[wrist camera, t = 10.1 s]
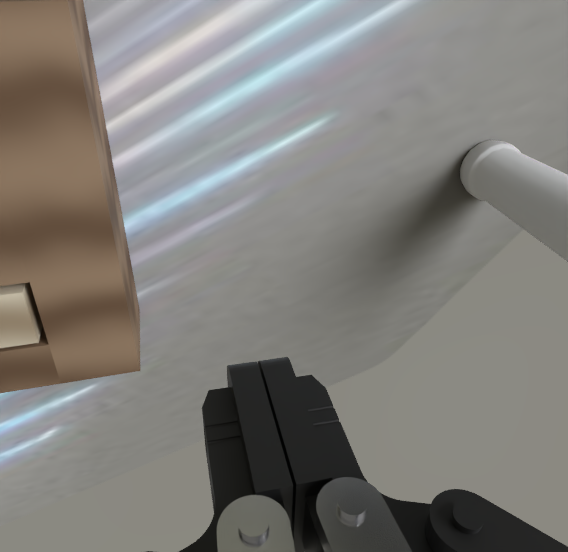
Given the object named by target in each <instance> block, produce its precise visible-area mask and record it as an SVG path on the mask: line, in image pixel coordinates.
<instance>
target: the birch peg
mask: <svg viewBox="0 0 568 552" xmlns="http://www.w3.org/2000/svg"><path fill="white" fill-rule="evenodd" d="M42 327H43V324H42V321H41V318H40V314H39V311H38V308H37V305H36V301H35V298H34V295H33V292H32V288H31V285H30V282H28V283H20V284H12V285H4V286H0V348H6V347H13V346H20V345H26V344H33V343H39V339H40V335H41V331H42Z"/></svg>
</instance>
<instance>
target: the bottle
mask: <svg viewBox="0 0 568 552" xmlns="http://www.w3.org/2000/svg"><path fill="white" fill-rule="evenodd" d="M460 179H461V181H462V183H463V185H464V187H465V189H466V190H467V192H469V193H470V194H471V195H472V196H474V197H475V198H477V199H479V200H480V201H486V202H488V203H489V204H490V205H492V206H493V207H494V208H496V209H497V210H499V211H500V212H501V213H503V214H504V215H505V216H507V217H508V218H509V219H511V220H512V221H513V222H515V223H516V224H517V225H519V226H520V227H522V228H523V229H524V230H526V231H527V232H528V233H530V234H531V235H532V236H534V237H535V238H536V239H538V240H539V241H540V242H542V243H544V245H546V246H547V247H549V248H550V249H551V250H553V251H554V252H555V253H557V254H558V255H559V256H561V257H562V258H563V259H565V260H566V261H567V262H568V175H567V174H565V173H562V172H560V171H558V170H556V169H554V168H552V167H550V166H547V165H545V164H543V163H541V162H539V161H537V160H535V159H532V158H530V157H528V156H526V155H524V154H522V153H520V150H518V149H517V148H516V147H514V146H513V145H511V144H509V143H507V142H503V141H496V140H488V141H485V142H482V143H479V144H478V145H476V146H475V147H474V148H472V149H471V150H470V151H469V153H468V154H467V155H466V157H465V158H464V160H463V163H462V165H461V168H460Z"/></svg>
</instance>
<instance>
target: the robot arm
mask: <svg viewBox="0 0 568 552" xmlns="http://www.w3.org/2000/svg"><path fill="white" fill-rule="evenodd" d="M227 379H228V388H221V389H214V390H209V391H208V394H207V396H206V399H205V402H204V404H203V407H202V412H203V423H204V435H205V446H206V455H207V463H208V469H209V478H210V485H211V493H212V500H213V508H214V517H213V520H212V522H211V524H210V526H209V527H208V529H207V530H206V532H205V533H204V534H203V535H202V536H201V537H200V538H199V539H198V540H197V541H196V542H194V543H193V544H191V545H190V546H188V547H186V548H185V549H183V550H181V551H179V552H568V547H567V546H565V545H564V544H562V543H560V542H558V541H557V540H555V539H553V538H552V537H550V536H548V535H546V534H544V533H543V532H541V531H539V530H538V529H536V528H534V527H533V526H531V525H529V524H527V523H526V522H524V521H522V520H520V519H519V518H517V517H515V516H513V515H512V514H510V513H508V512H506V511H505V510H503V509H501V508H500V507H498V506H496V505H494V504H493V503H491V502H489V501H487V500H486V499H484V498H482V497H481V496H479V495H477V494H475V493H472V492H469V491H465V490H460V489H452V490H447V491H444V492H442V493H440V494H439V495H437V496H436V497H435V498H434V500H433V501H432V504H425V503H417V502H407V501H400V500H396V499H392V498H389V497H387V496H385V495H383V494H381V493H380V492H379V491H378V490H377V489H376V488H375V487H374V486H372V485H371V484H369V483H368V482H367V480H366V479H365V478H364V476H363V474H362V472H361V470H360V467H359V465H358V463H357V461H356V458H355V456H354V453H353V451H352V449H351V446H350V444H349V442H348V439H347V437H346V435H345V432H344V430H343V428H342V425H341V423H340V422H339V418H338V416H337V413H336V411H335V409H334V408H333V404H332V402H331V400H330V397H329V395H328V392H327V390H326V388H325V387H324V386H323V385H322V384H321V383H320V382H318V381H317V380H316V379H315V378H314V377H313V376H312V375H307V376H301V377H296V376H295V373H294V371H293V368H292V365H291V362H290V360H289V358H288V357H284V358H277V359H270V360H263V361H258V363H257V362H249V363H242V364H235V365H228V366H227ZM148 552H149V551H148Z"/></svg>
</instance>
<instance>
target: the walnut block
mask: <svg viewBox="0 0 568 552" xmlns="http://www.w3.org/2000/svg"><path fill="white" fill-rule="evenodd" d="M28 282H30V285H31V288H32V292H33V295H34V298H35V301H36V305H37V308H38V311H39V314H40V318H41V321H42V324H43V327H42V331H41V335H40V339H39V343H33V344H26V345H20V346H13V347H6V348H0V393H4V392H10V391H17V390H23V389H29V388H35V387H42V386H48V385H54V384H60V383H67V382H73V381H79V380H85V379H91V378H98V377H104V376H110V375H116V374H123V373H129V372H135V371H140V319H139V305H138V299H137V294H136V288H135V283H134V277H133V272H132V266H131V261H130V255H129V250H128V245H127V239H126V234H125V228H124V223H123V217H122V212H121V206H120V201H119V195H118V190H117V184H116V179H115V173H114V168H113V163H112V157H111V152H110V146H109V141H108V135H107V130H106V124H105V119H104V113H103V108H102V102H101V97H100V91H99V86H98V81H97V75H96V70H95V64H94V59H93V53H92V48H91V42H90V37H89V31H88V26H87V20H86V15H85V9H84V4H83V0H0V286H4V285H12V284H20V283H28Z"/></svg>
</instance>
